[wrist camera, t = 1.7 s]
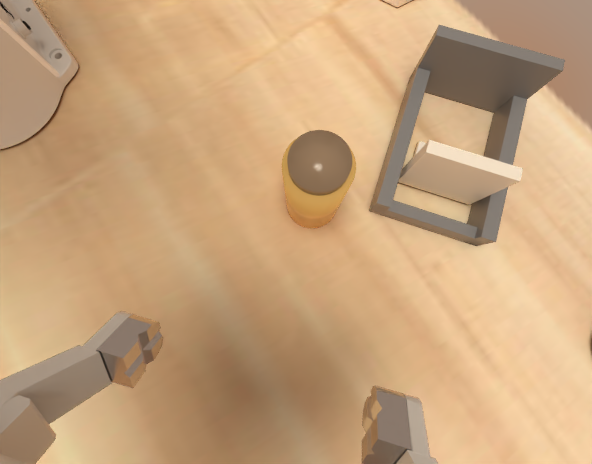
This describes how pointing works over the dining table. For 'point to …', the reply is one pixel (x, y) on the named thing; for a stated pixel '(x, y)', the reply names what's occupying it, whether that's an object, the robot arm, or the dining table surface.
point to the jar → (397, 2)
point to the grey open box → (475, 92)
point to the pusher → (457, 173)
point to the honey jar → (316, 177)
